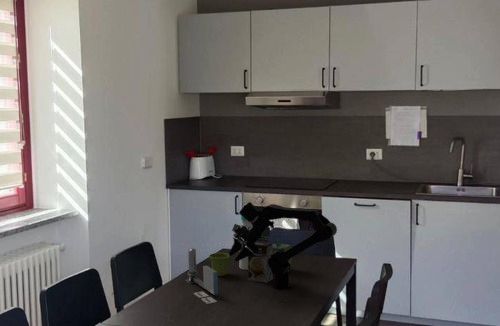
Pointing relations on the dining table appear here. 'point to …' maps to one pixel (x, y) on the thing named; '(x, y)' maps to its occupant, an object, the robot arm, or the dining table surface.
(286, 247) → the chalk box
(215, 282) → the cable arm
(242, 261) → the water bottle
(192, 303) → the dining table surface
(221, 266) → the plant pot
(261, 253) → the coffee box
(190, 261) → the post
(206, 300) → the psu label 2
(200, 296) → the psu label
